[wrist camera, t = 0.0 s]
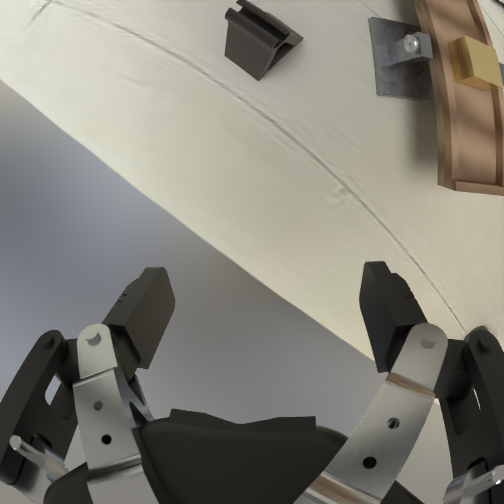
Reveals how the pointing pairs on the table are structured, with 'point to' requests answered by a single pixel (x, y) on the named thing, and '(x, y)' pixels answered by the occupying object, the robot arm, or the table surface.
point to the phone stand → (257, 39)
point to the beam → (463, 103)
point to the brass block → (475, 64)
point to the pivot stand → (403, 60)
